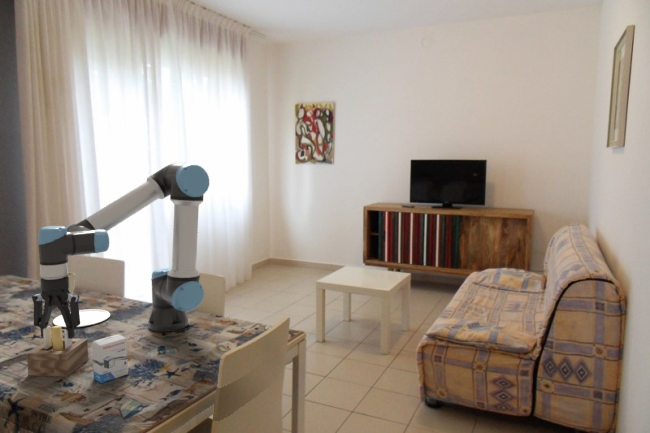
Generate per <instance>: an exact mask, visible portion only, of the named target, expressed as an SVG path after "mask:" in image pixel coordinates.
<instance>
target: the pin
mask: <svg viewBox="0 0 650 433" xmlns="http://www.w3.org/2000/svg"><path fill="white" fill-rule="evenodd" d="M62 328H63V327H61V326H56V325H53V326H52V327H51V338H52V343H53V351H64V349H63V339H62V338H63V330H62Z"/></svg>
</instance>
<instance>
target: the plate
mask: <svg viewBox="0 0 650 433" xmlns="http://www.w3.org/2000/svg"><path fill="white" fill-rule="evenodd" d="M70 313H71V311H70ZM79 315H80V325H78V326H77V327H75V328H85V327H89V326H96V325H98V324H101V323H102V322H105V321H106V320H108V319H110V317H111V313H110V312H109V311H107V310H106V309H98V308H96V309H95V308H89V309H85V308H84V309H79ZM52 324H53V326H61V328H64V329H66V328H67V327H66V325H65V322H64V319H63V317H62V314H61V315H60V314H59V315H58V316H56V317H55V318H54V319H53V320H52ZM75 328H74V329H75Z"/></svg>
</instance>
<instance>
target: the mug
mask: <svg viewBox="0 0 650 433" xmlns="http://www.w3.org/2000/svg"><path fill="white" fill-rule="evenodd" d="M67 276H69V289H68V290H69V292H70V294H72V295H74V291H75V285H76V284H75V283H76V282H75V281H76V278H75V277H76V273H74V272H68V274H67ZM67 302H69V298H68V299H67Z"/></svg>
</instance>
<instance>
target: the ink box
mask: <svg viewBox="0 0 650 433" xmlns="http://www.w3.org/2000/svg"><path fill="white" fill-rule="evenodd" d="M91 344H92V364H93V365H92V366H93V367H92V368H93V379H94V380H95V381H96V382H98V383H100V384H103V383H106V382H108V381H112V380H114V379H118V378H121V377H123V376H125V375H129V361H128V360H129V359H128V338H127V337H125V336H123V335H122V334H119V333H117V334H114V335H109V336H106V337H104V338H99V339H96V340H93V341H92V343H91Z"/></svg>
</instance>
